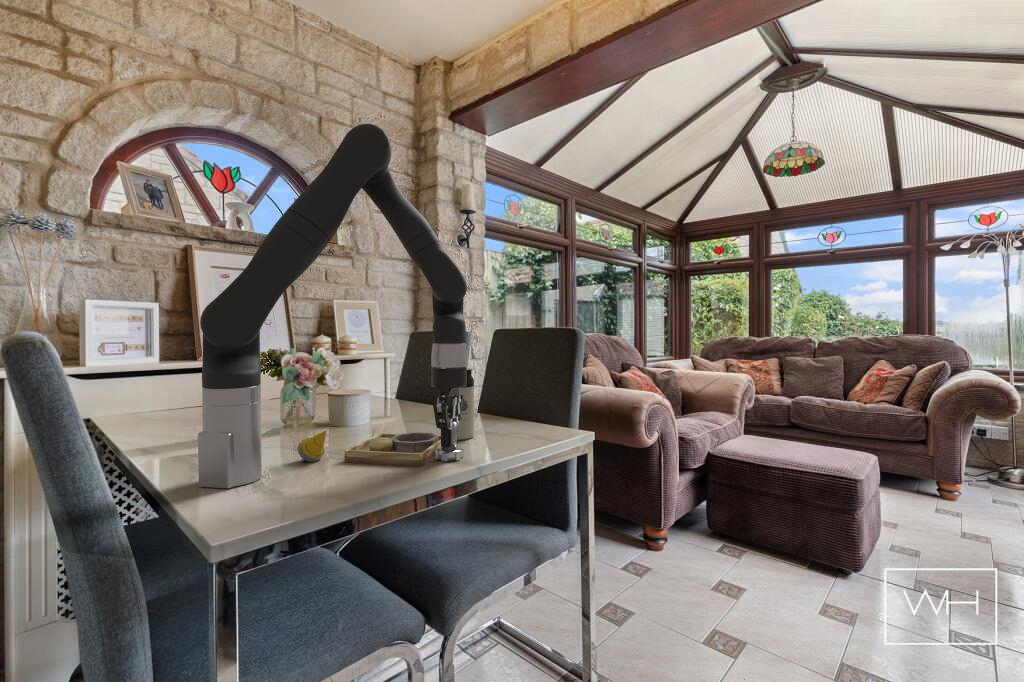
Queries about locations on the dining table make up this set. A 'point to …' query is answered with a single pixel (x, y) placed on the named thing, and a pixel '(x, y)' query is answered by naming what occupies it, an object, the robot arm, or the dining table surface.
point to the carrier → (395, 449)
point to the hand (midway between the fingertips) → (449, 444)
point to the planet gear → (451, 452)
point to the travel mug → (467, 409)
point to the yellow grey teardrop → (312, 448)
